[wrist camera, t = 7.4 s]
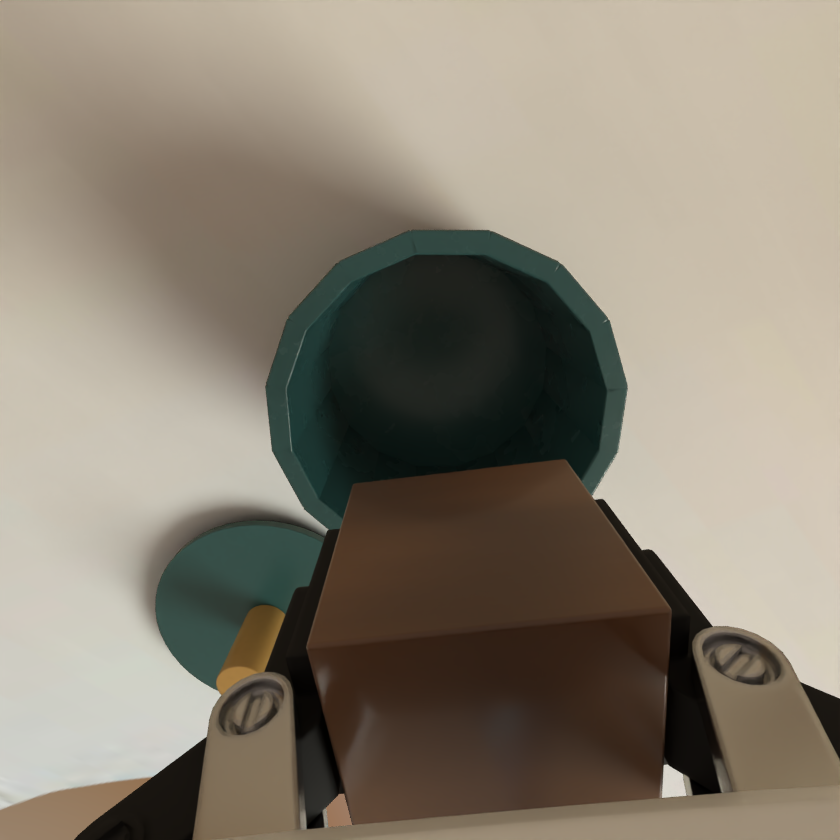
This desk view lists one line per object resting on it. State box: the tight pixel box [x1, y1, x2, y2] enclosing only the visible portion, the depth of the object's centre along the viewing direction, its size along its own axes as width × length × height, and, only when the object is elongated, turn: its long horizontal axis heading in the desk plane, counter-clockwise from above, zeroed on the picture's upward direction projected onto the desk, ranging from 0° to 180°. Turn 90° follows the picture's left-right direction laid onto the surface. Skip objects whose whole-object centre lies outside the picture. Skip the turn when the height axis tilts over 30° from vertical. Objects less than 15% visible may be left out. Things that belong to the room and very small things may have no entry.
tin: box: [265, 230, 628, 530], centre depth 23 cm, size 14×14×10 cm
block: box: [306, 459, 672, 825], centre depth 10 cm, size 5×5×5 cm
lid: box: [155, 520, 325, 695], centre depth 30 cm, size 15×15×6 cm
